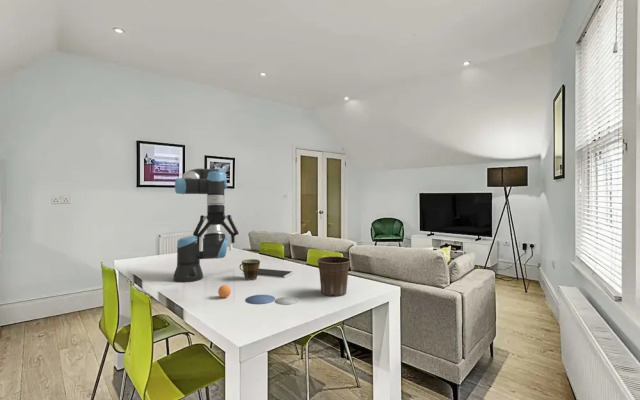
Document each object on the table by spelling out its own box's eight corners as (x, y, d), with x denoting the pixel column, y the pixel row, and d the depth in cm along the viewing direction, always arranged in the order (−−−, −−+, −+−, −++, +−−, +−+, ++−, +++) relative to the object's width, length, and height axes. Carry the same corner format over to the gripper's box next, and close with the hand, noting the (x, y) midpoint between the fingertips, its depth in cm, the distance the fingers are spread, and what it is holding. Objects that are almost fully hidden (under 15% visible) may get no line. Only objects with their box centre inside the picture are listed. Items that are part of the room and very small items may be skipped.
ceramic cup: (251, 275, 191) (251, 258, 191) (263, 278, 186) (263, 260, 185) (233, 280, 181) (233, 262, 181) (245, 283, 175) (246, 264, 175)
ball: (215, 298, 148) (215, 286, 148) (221, 295, 154) (221, 283, 154) (227, 299, 147) (227, 287, 147) (232, 295, 153) (232, 283, 153)
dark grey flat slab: (285, 279, 186) (285, 276, 186) (243, 275, 195) (243, 272, 195) (294, 274, 199) (294, 271, 199) (255, 270, 208) (255, 267, 208)
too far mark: (272, 303, 142) (272, 303, 142) (278, 296, 152) (278, 296, 152) (295, 305, 140) (295, 304, 140) (300, 298, 150) (300, 297, 150)
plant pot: (335, 300, 148) (335, 264, 147) (309, 293, 158) (309, 259, 158) (357, 292, 160) (357, 259, 159) (331, 286, 170) (332, 255, 170)
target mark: (240, 303, 142) (240, 302, 142) (251, 294, 155) (251, 293, 155) (270, 304, 140) (270, 304, 140) (278, 295, 153) (278, 295, 153)
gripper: (185, 204, 150) (185, 252, 148) (241, 203, 151) (241, 250, 149) (191, 205, 157) (191, 250, 156) (244, 204, 158) (244, 249, 157)
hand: (216, 250), depth 152 cm, fingers open, 13 cm apart
